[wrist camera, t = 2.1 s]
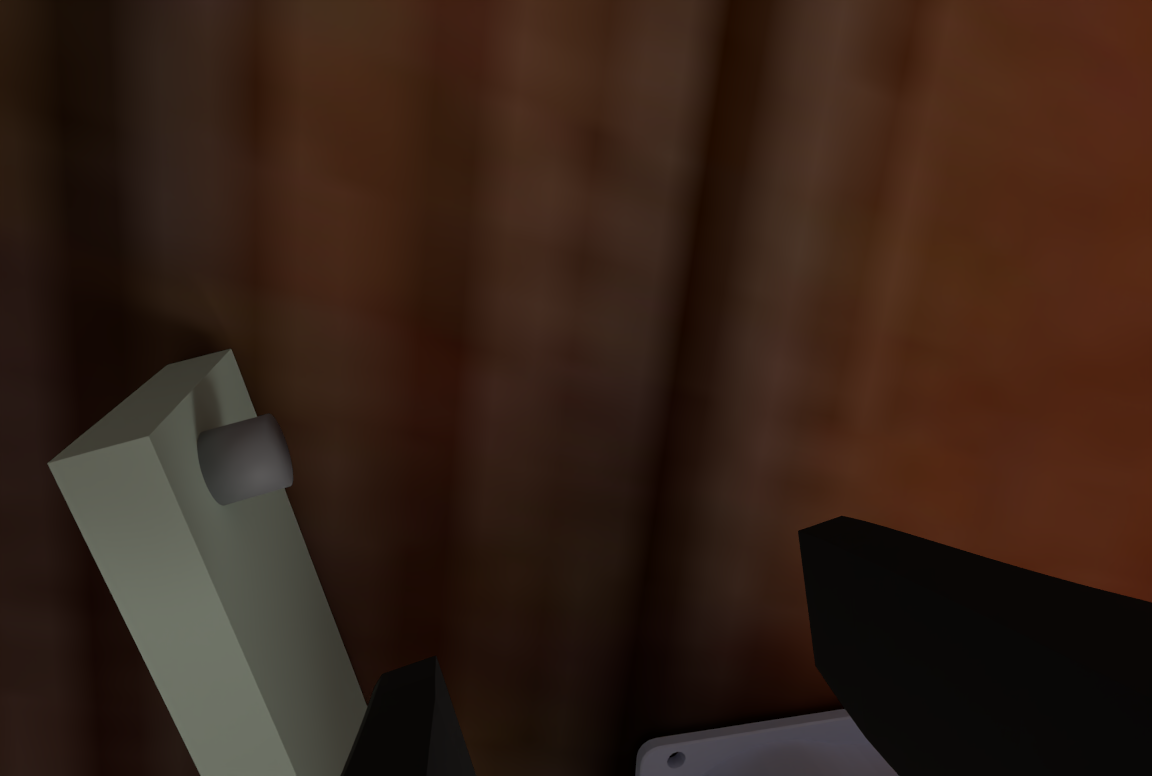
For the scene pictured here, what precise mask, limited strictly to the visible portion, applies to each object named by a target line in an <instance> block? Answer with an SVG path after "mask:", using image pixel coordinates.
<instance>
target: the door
mask: <svg viewBox="0 0 1152 776" xmlns="http://www.w3.org/2000/svg"><path fill="white" fill-rule="evenodd" d="M47 464H48V466H49V468H50V470H51V472H52V474H53V476H54V478H55V480H56V482H57V484H58V486H59V488H60V490H61V492H62V494H63V496H64V498H65V500H66V502H67V504H68V506H69V508H70V511H71V513H72V515H73V517H74V519H75V521H76V523H77V525H78V527H79V529H80V531H81V533H82V535H83V537H84V539H85V541H86V543H87V545H88V547H89V549H90V551H91V553H92V555H93V557H94V559H95V561H96V563H97V566H98V568H99V570H100V572H101V574H102V576H103V578H104V580H105V582H106V584H107V586H108V588H109V590H110V592H111V594H112V596H113V598H114V600H115V602H116V604H117V606H118V608H119V610H120V612H121V614H122V616H123V618H124V621H125V623H126V625H127V627H128V629H129V631H130V633H131V635H132V637H133V639H134V641H135V643H136V645H137V647H138V649H139V651H140V653H141V655H142V657H143V659H144V661H145V663H146V665H147V667H148V669H149V671H150V673H151V676H152V678H153V680H154V682H155V684H156V686H157V688H158V690H159V692H160V694H161V696H162V698H163V700H164V702H165V704H166V706H167V708H168V710H169V712H170V714H171V716H172V718H173V720H174V722H175V724H176V726H177V728H178V731H179V733H180V735H181V737H182V739H183V741H184V743H185V745H186V747H187V749H188V751H189V753H190V755H191V757H192V759H193V761H194V763H195V765H196V767H197V769H198V771H199V773H200V775H201V776H340V775H341V773H342V771H343V768H344V766H345V763H346V761H347V758H348V756H349V753H350V751H351V748H352V746H353V743H354V741H355V738H356V736H357V733H358V731H359V728H360V725H361V723H362V720H363V717H364V715H365V712H366V709H367V705H366V702H365V699H364V697H363V694H362V692H361V689H360V686H359V684H358V681H357V678H356V676H355V673H354V671H353V668H352V665H351V663H350V660H349V657H348V655H347V652H346V649H345V647H344V644H343V642H342V639H341V636H340V634H339V631H338V628H337V626H336V623H335V621H334V618H333V615H332V613H331V610H330V607H329V605H328V602H327V599H326V597H325V594H324V592H323V589H322V586H321V584H320V581H319V578H318V576H317V573H316V571H315V568H314V565H313V563H312V560H311V557H310V555H309V552H308V549H307V547H306V544H305V542H304V539H303V536H302V534H301V531H300V528H299V526H298V523H297V520H296V518H295V515H294V513H293V510H292V507H291V505H290V502H289V499H288V497H287V494H286V492H285V489H284V488H286V487H290V486H291V485H292V482H293V469H292V463H291V458H290V454H289V450H288V446H287V443H286V440H285V437H284V435H283V432H282V430H281V428H280V426H279V424H278V422H277V421H276V419H275V418H274V416H273V415H271V414H265V415H261V416H258V417H257V415H256V413H255V410H254V407H253V405H252V402H251V399H250V397H249V394H248V391H247V389H246V386H245V384H244V381H243V378H242V376H241V373H240V370H239V368H238V365H237V363H236V360H235V357H234V355H233V352H232V349H227V350H223V351H220V352H216V353H212V354H208V355H204V356H200V357H196V358H192V359H188V360H184V361H180V362H176V363H172V364H169V365H166V366H165V367H164V368H163V369H161V370H160V371H159V372H158V373H157V374H155V375H154V376H153V377H152V378H151V379H149V380H148V381H147V382H146V383H144V384H143V385H142V386H141V387H140V388H138V389H137V390H136V391H135V392H133V393H132V394H131V395H130V396H129V397H127V398H126V399H125V400H124V401H123V402H121V403H120V404H119V405H118V406H116V407H115V408H114V409H113V410H112V411H110V412H109V413H108V414H107V415H106V416H104V417H103V418H102V419H101V420H99V421H98V422H97V423H96V424H95V425H93V426H92V427H91V428H90V429H89V430H87V431H86V432H85V433H84V434H82V435H81V436H80V437H79V438H78V439H76V440H75V441H74V442H73V443H71V444H70V445H69V446H68V447H67V448H65V449H64V450H63V451H62V452H61V453H59V454H58V455H57V456H56V457H54V458H53V459H52V460H51V461H50V462H48V463H47Z"/></svg>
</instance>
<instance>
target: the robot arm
mask: <svg viewBox="0 0 1152 776" xmlns="http://www.w3.org/2000/svg"><path fill="white" fill-rule="evenodd" d="M798 534H799V542H800V550H801V558H802V566H803V573H804V581H805V589H806V597H807V604H808V612H809V620H810V628H811V635H812V643H813V651H814V659H815V666H816V667H817V669H818V670H819V672H820V673H821V675H822V676H823V678H824V679H825V681H826V682H827V684H828V685H829V687H830V688H831V689H832V691H833V692H834V694H835V695H836V697H837V698H838V700H839V701H840V703H841V704H842V706H843V707H844V708H845V709H840V710H834V711H827V712H821V713H814V714H808V715H801V716H795V717H788V718H782V719H775V720H769V721H762V722H756V723H749V724H743V725H736V726H730V727H723V728H717V729H710V730H704V731H697V732H691V733H684V734H678V735H671V736H665V737H658V738H654V739H651V740H648V741H647V742H645V743H644V744H643V745H642V746H641V748H640V749H639V750H638V754H637V760H636V773H635V776H1152V602H1148V601H1144V600H1140V599H1136V598H1132V597H1128V596H1124V595H1120V594H1116V593H1112V592H1108V591H1104V590H1100V589H1096V588H1092V587H1088V586H1084V585H1081V584H1077V583H1073V582H1070V581H1066V580H1063V579H1059V578H1055V577H1052V576H1048V575H1044V574H1041V573H1037V572H1034V571H1030V570H1027V569H1024V568H1020V567H1017V566H1013V565H1010V564H1006V563H1003V562H1000V561H996V560H993V559H990V558H986V557H983V556H980V555H976V554H973V553H970V552H966V551H963V550H960V549H957V548H953V547H950V546H947V545H944V544H940V543H937V542H934V541H931V540H927V539H924V538H921V537H917V536H914V535H911V534H908V533H904V532H901V531H897V530H894V529H891V528H887V527H884V526H880V525H877V524H873V523H870V522H866V521H862V520H858V519H854V518H849V517H845V516H840V517H837V518H834V519H831V520H829V521H826V522H823V523H820V524H817V525H814V526H811V527H808V528H805V529H802V530H799V531H798ZM675 752H678V753H677V754H676V755H675V756H673V757H670V756H671V755H672V754H673V753H675ZM669 757H670V758H669ZM340 776H476V774H475V771H474V768H473V765H472V762H471V759H470V756H469V753H468V750H467V747H466V744H465V741H464V738H463V735H462V732H461V729H460V726H459V723H458V720H457V717H456V714H455V711H454V708H453V705H452V702H451V699H450V696H449V693H448V690H447V687H446V684H445V681H444V678H443V675H442V672H441V669H440V666H439V663H438V660H437V657H436V656H433V657H430V658H427V659H424V660H422V661H419V662H416V663H413V664H410V665H407V666H404V667H401V668H398V669H395V670H392V671H390V672H387V673H384V674H382V675H381V677H380V679H379V680H378V682H377V684H376V685H375V688H374V690H373V693H372V696H371V699H370V701H369V704H368V707H367V709H366V712H365V715H364V717H363V720H362V723H361V725H360V728H359V731H358V733H357V736H356V738H355V741H354V743H353V746H352V748H351V751H350V753H349V756H348V758H347V761H346V763H345V766H344V768H343V771H342V773H341V775H340Z"/></svg>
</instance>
